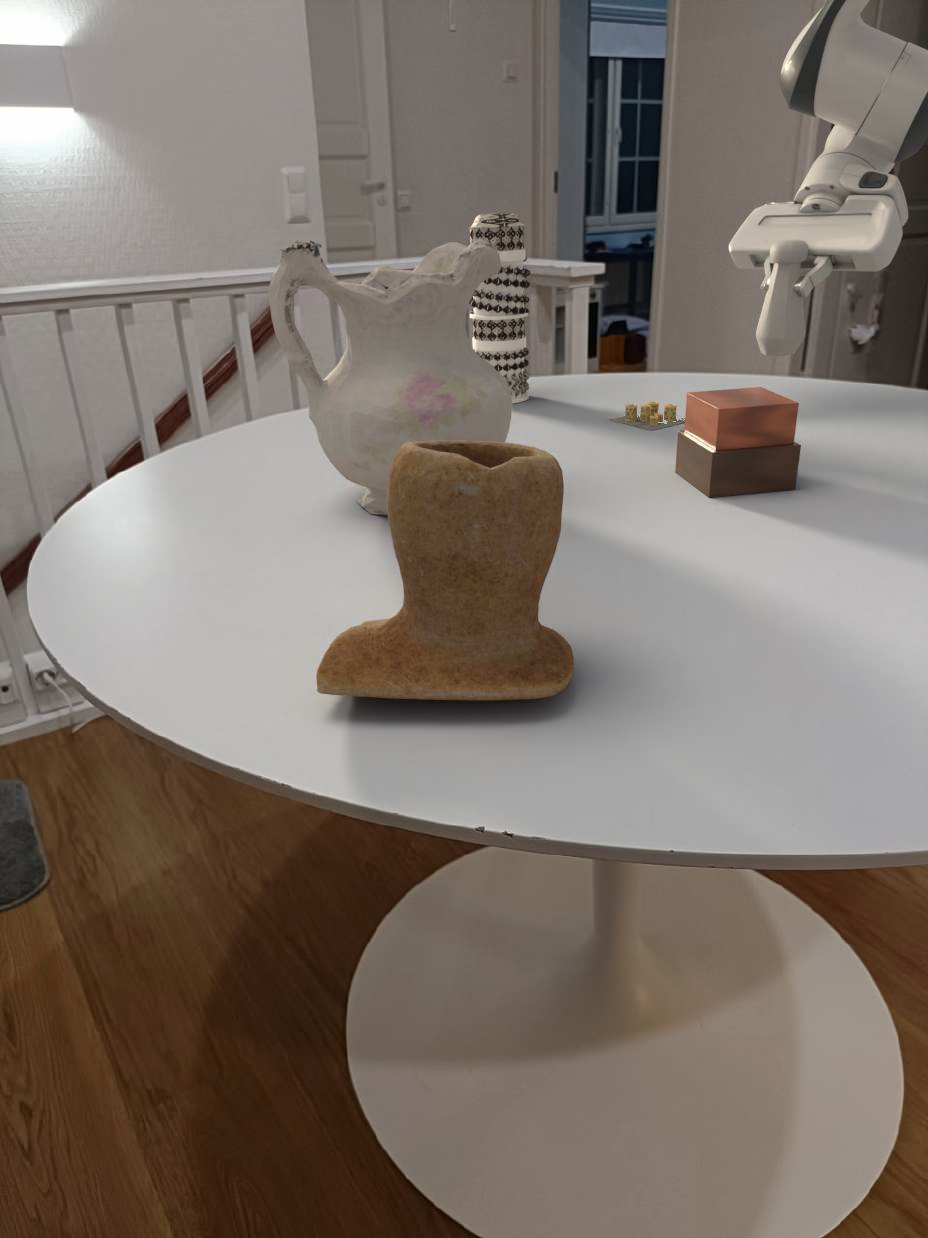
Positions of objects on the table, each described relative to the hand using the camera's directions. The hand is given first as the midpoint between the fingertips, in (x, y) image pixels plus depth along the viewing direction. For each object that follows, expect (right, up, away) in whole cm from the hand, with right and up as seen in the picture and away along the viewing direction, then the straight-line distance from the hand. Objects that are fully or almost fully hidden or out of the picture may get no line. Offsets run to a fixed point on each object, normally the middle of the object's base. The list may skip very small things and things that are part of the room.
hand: (783, 292), depth 106 cm
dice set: (-14, -14, +9) cm, 21 cm away
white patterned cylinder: (-33, -7, +25) cm, 42 cm away
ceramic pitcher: (-44, -28, -18) cm, 55 cm away
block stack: (-11, -25, -16) cm, 32 cm away
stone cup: (-39, -43, -50) cm, 77 cm away
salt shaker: (+1, -6, +4) cm, 7 cm away
